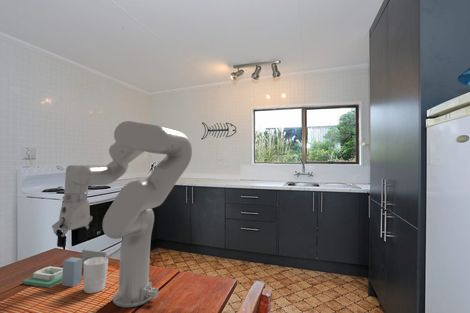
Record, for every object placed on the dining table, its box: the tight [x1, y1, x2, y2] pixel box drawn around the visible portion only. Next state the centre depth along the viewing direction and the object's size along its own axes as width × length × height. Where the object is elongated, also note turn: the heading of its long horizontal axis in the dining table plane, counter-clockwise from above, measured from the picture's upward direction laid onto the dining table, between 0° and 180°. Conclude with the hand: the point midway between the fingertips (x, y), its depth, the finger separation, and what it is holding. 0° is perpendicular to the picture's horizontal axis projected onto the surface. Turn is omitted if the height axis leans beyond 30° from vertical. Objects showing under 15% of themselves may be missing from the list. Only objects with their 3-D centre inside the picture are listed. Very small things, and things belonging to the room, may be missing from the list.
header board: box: [22, 265, 63, 288], centre depth 98 cm, size 12×12×3 cm
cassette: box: [81, 248, 108, 267], centre depth 108 cm, size 12×2×8 cm, turn 76°
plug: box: [61, 256, 83, 288], centre depth 94 cm, size 6×4×9 cm, turn 78°
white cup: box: [83, 257, 109, 294], centre depth 91 cm, size 8×8×10 cm
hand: (72, 242), depth 95 cm, fingers open, 9 cm apart
